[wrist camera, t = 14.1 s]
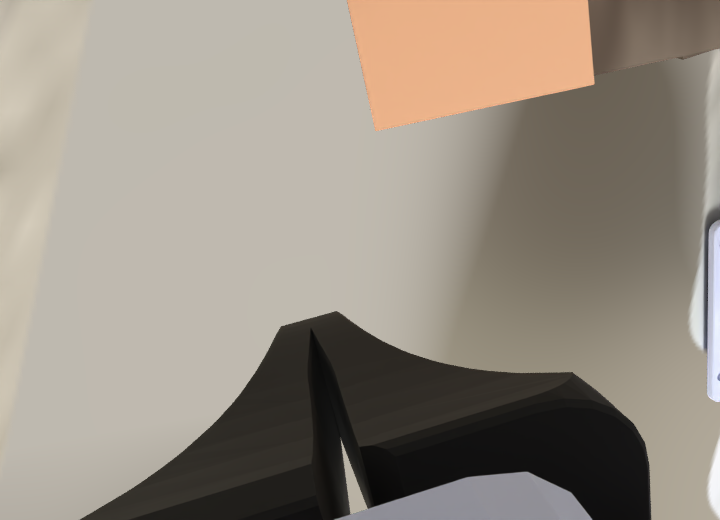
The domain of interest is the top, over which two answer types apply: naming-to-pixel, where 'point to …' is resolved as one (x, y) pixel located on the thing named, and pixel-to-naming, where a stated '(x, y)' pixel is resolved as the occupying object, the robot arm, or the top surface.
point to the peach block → (467, 54)
